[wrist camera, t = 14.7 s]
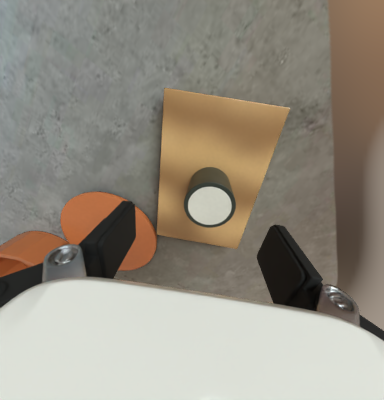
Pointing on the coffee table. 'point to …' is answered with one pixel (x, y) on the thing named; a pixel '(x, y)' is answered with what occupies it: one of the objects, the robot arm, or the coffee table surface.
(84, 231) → the lid
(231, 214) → the sushi
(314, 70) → the coffee table surface
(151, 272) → the coffee table surface
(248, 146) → the board
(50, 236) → the bowl
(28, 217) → the coffee table surface
